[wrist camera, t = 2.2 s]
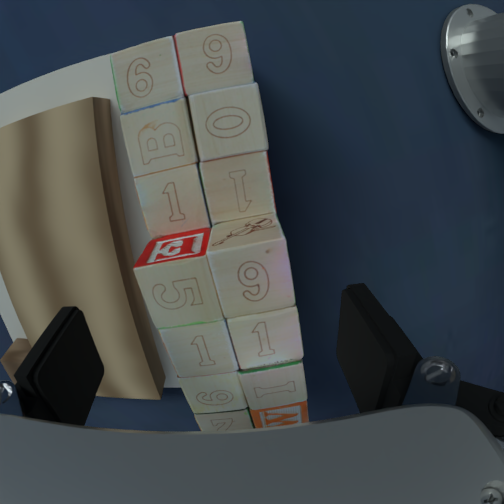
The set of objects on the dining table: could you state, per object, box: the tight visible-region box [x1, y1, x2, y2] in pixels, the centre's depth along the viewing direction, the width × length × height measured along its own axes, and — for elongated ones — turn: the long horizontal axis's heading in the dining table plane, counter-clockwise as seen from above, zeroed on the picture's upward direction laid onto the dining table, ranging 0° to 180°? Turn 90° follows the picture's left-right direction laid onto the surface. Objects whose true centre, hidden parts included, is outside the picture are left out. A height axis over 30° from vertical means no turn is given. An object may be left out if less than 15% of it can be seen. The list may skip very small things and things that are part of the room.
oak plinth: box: [0, 97, 166, 399], centre depth 22 cm, size 12×25×3 cm, turn 4°
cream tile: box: [0, 53, 181, 388], centre depth 24 cm, size 20×30×1 cm, turn 4°
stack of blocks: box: [110, 21, 309, 431], centre depth 18 cm, size 21×6×12 cm, turn 9°
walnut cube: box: [0, 338, 32, 385], centre depth 26 cm, size 4×4×4 cm
